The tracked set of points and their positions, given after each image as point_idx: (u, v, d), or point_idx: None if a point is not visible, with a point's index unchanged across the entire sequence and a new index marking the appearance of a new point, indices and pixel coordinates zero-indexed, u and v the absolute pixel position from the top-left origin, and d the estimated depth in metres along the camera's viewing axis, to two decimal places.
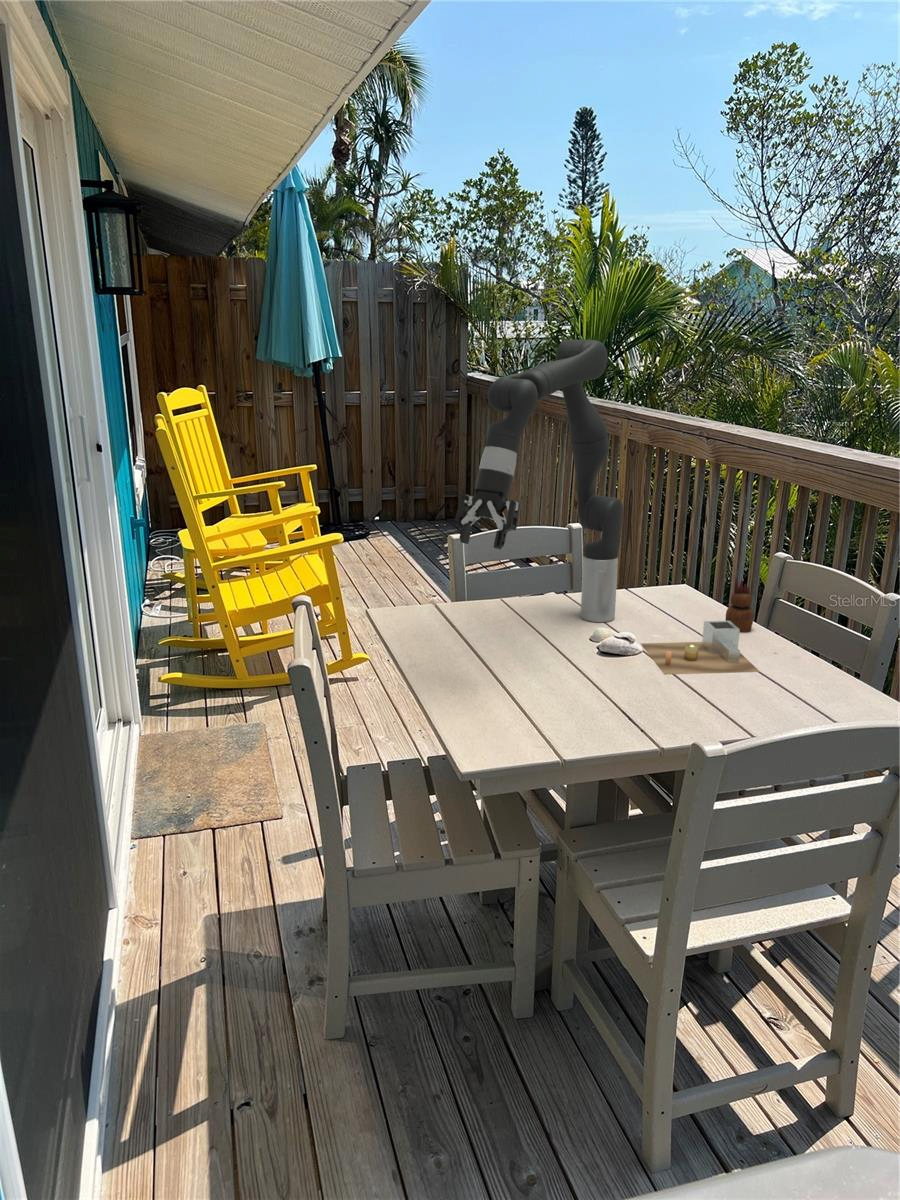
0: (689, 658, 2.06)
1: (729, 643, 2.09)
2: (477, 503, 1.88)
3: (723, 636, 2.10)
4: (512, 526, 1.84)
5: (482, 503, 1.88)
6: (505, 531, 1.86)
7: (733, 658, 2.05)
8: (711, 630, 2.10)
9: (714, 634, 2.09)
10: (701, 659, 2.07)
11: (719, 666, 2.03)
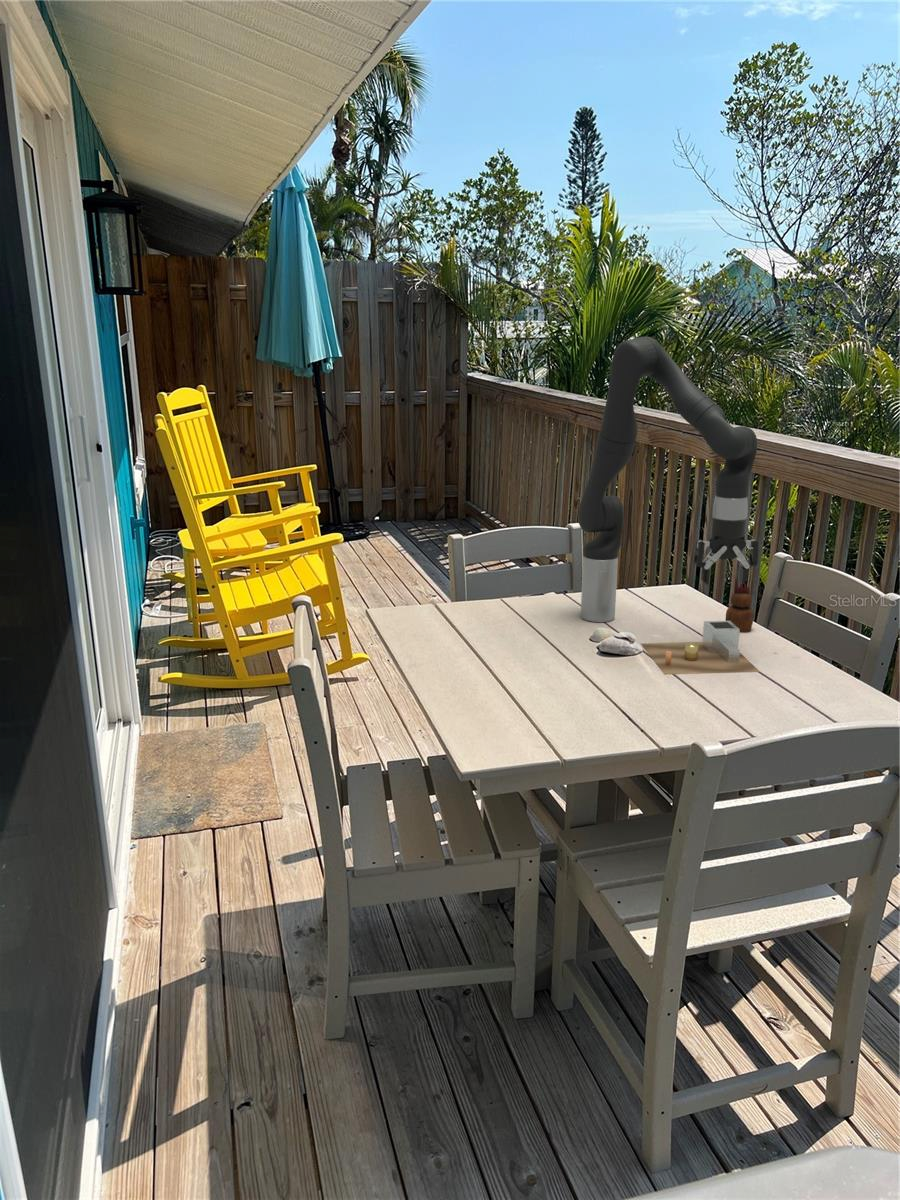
0: (689, 658, 2.06)
1: (729, 643, 2.09)
2: (722, 549, 2.04)
3: (723, 636, 2.10)
4: None
5: None
6: None
7: (733, 658, 2.05)
8: (711, 630, 2.10)
9: (714, 634, 2.09)
10: (701, 659, 2.07)
11: (719, 666, 2.03)
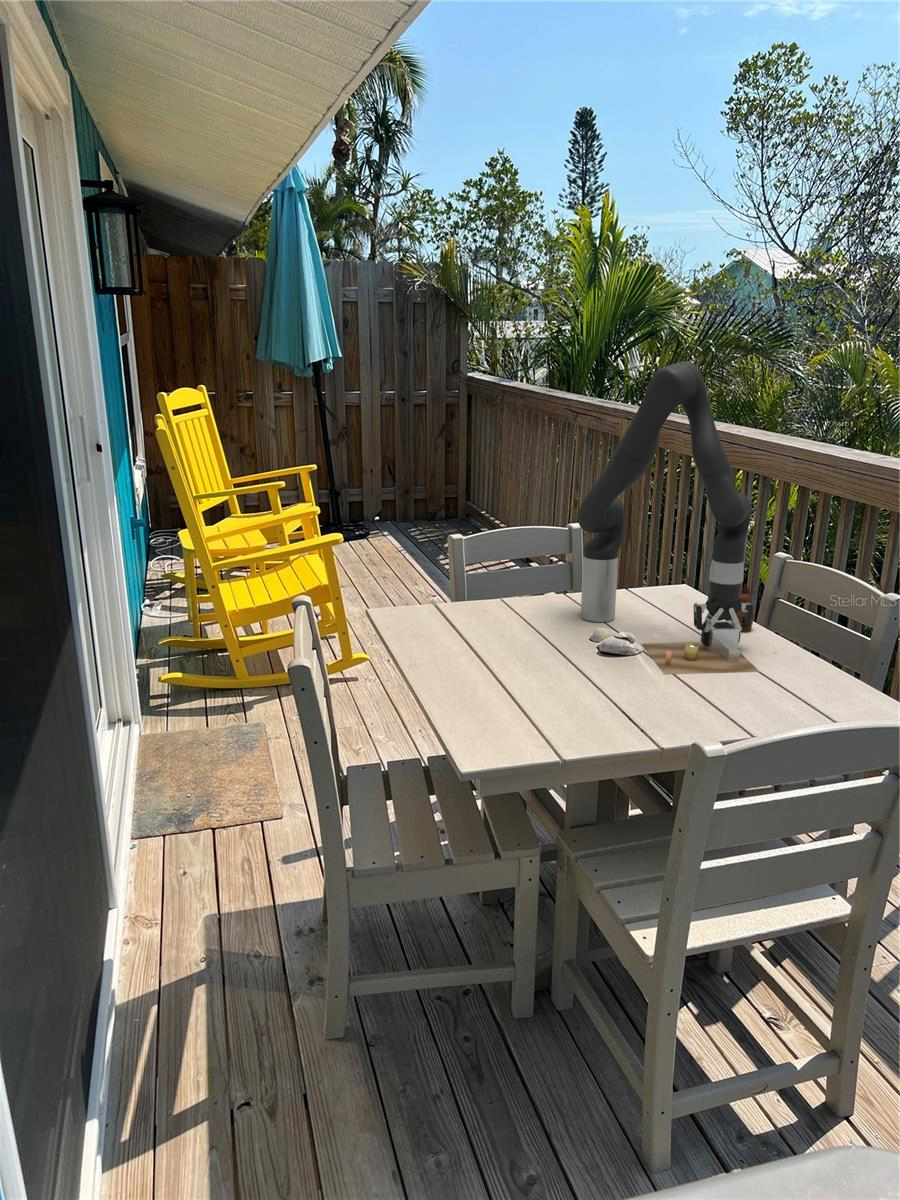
0: (689, 658, 2.06)
1: (729, 643, 2.09)
2: (719, 612, 2.09)
3: (723, 636, 2.10)
4: None
5: None
6: None
7: (733, 658, 2.05)
8: (711, 630, 2.10)
9: (714, 634, 2.09)
10: (701, 659, 2.07)
11: (719, 666, 2.03)
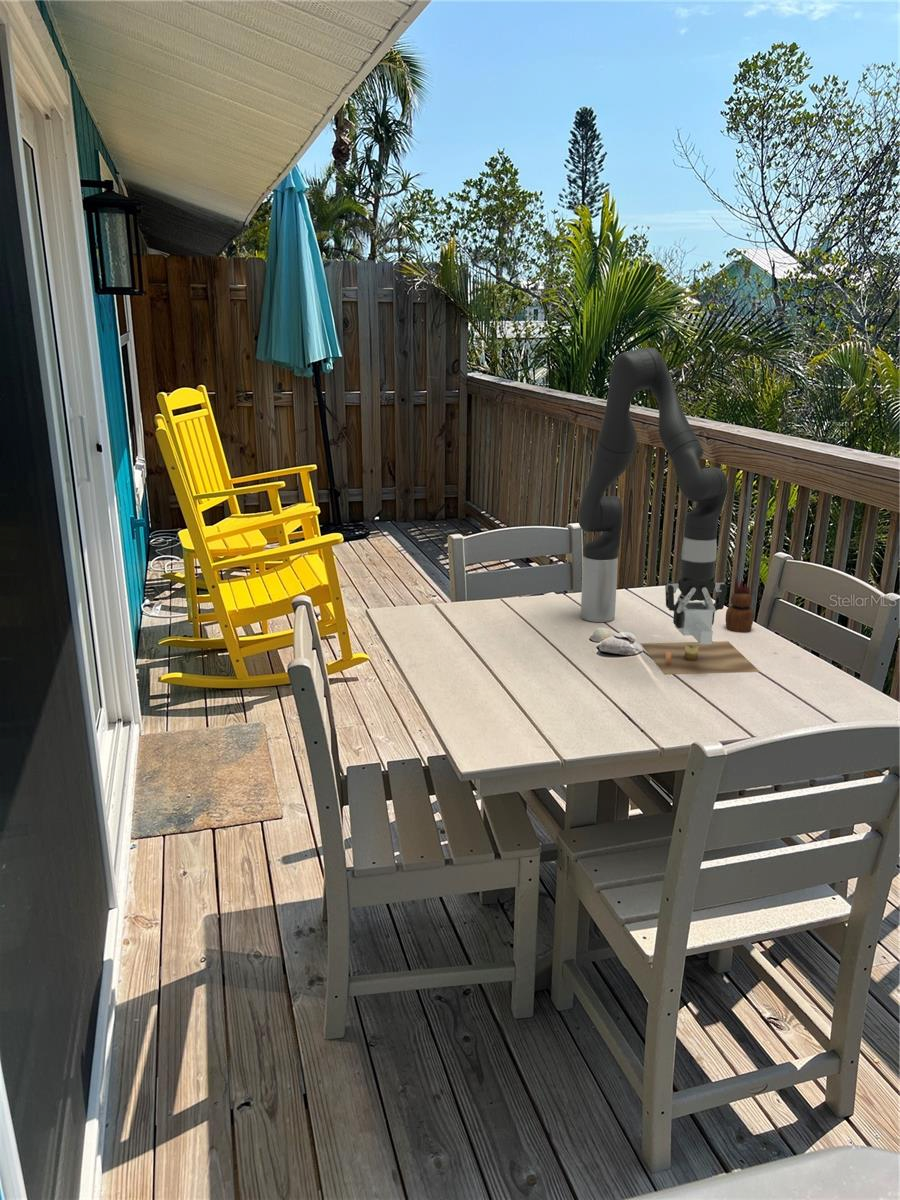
0: (689, 658, 2.06)
1: (702, 624, 2.00)
2: (691, 591, 2.01)
3: (696, 617, 2.01)
4: None
5: None
6: None
7: (705, 640, 1.96)
8: (683, 611, 2.02)
9: (686, 615, 2.01)
10: (701, 659, 2.07)
11: (719, 666, 2.03)
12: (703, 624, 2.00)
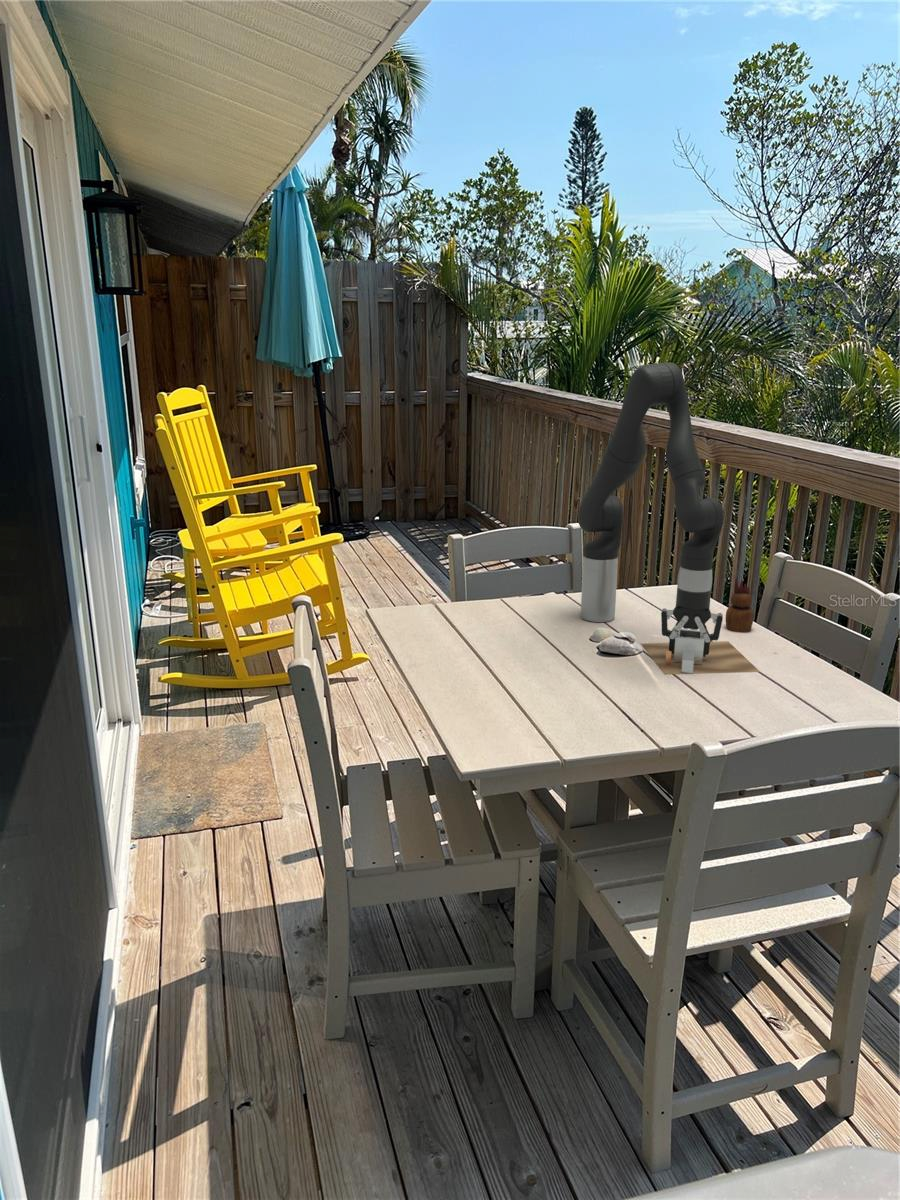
0: None
1: (690, 653, 2.02)
2: (683, 619, 2.03)
3: (686, 645, 2.04)
4: None
5: (688, 618, 2.03)
6: (710, 641, 2.05)
7: (686, 668, 1.99)
8: None
9: (677, 642, 2.04)
10: None
11: (719, 666, 2.03)
12: (692, 653, 2.02)
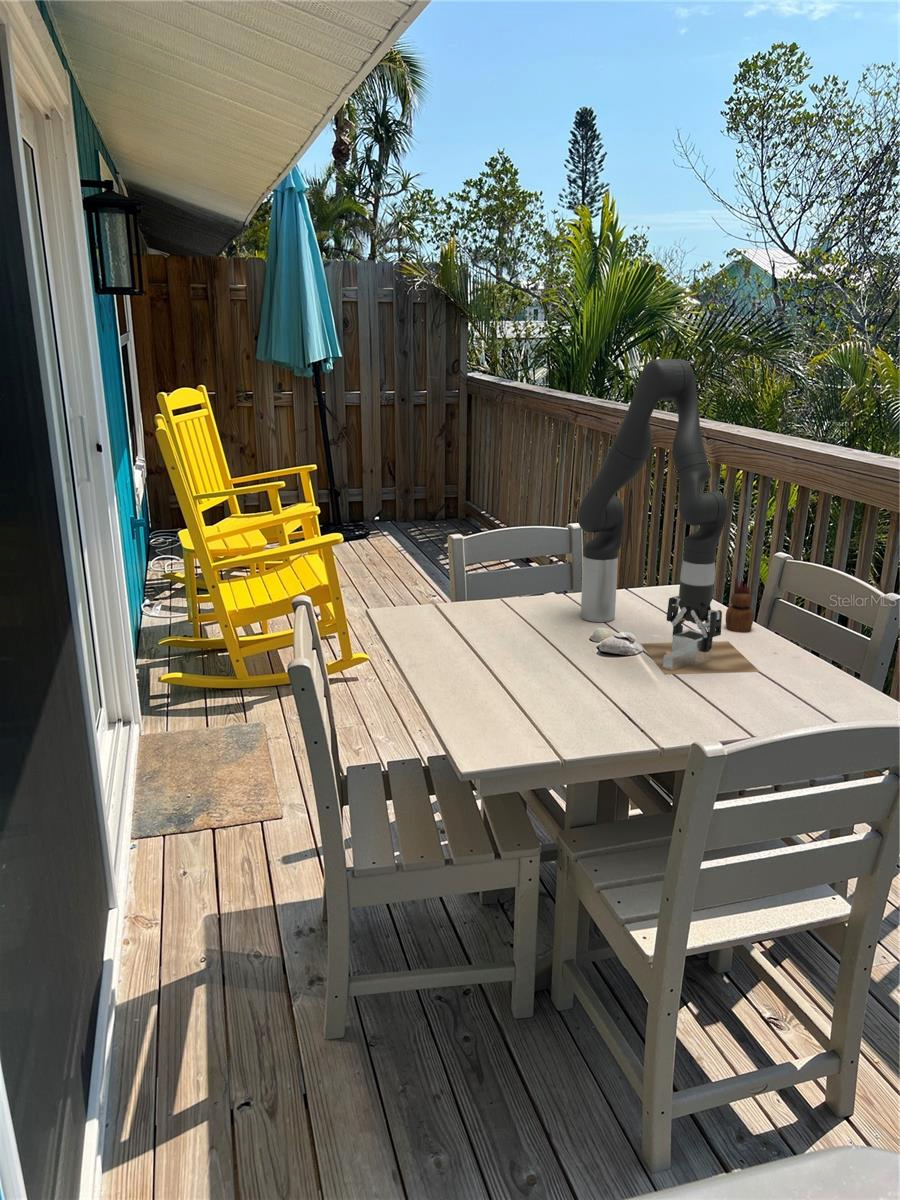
0: None
1: (681, 652, 2.03)
2: (682, 610, 2.05)
3: (682, 644, 2.04)
4: (715, 634, 2.00)
5: (687, 610, 2.04)
6: (710, 637, 2.02)
7: (667, 665, 2.01)
8: None
9: (674, 640, 2.06)
10: None
11: (719, 666, 2.03)
12: (683, 652, 2.03)
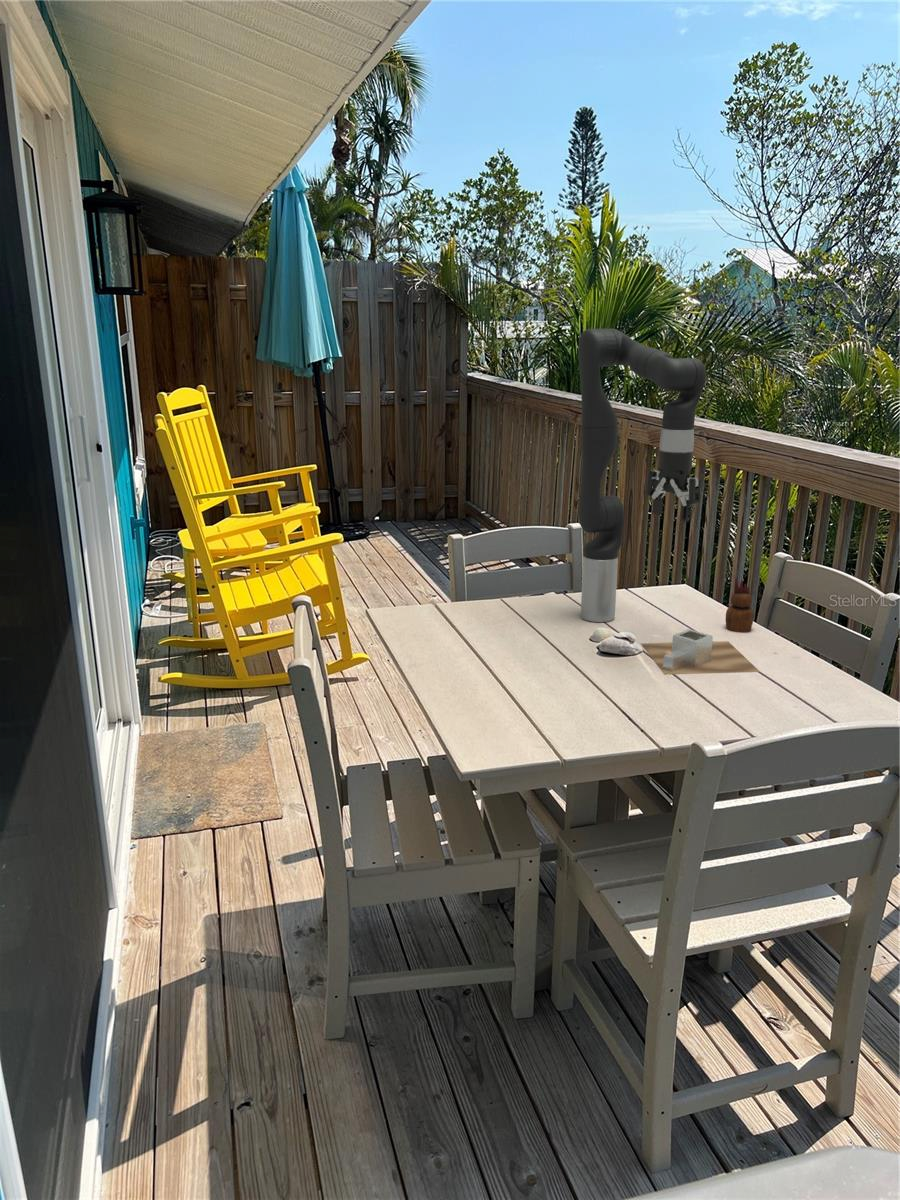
0: None
1: (682, 652, 2.03)
2: (662, 481, 2.05)
3: (682, 644, 2.04)
4: (694, 502, 2.00)
5: (666, 480, 2.05)
6: (689, 505, 2.02)
7: (667, 665, 2.01)
8: None
9: (674, 640, 2.06)
10: None
11: (719, 666, 2.03)
12: (683, 653, 2.03)
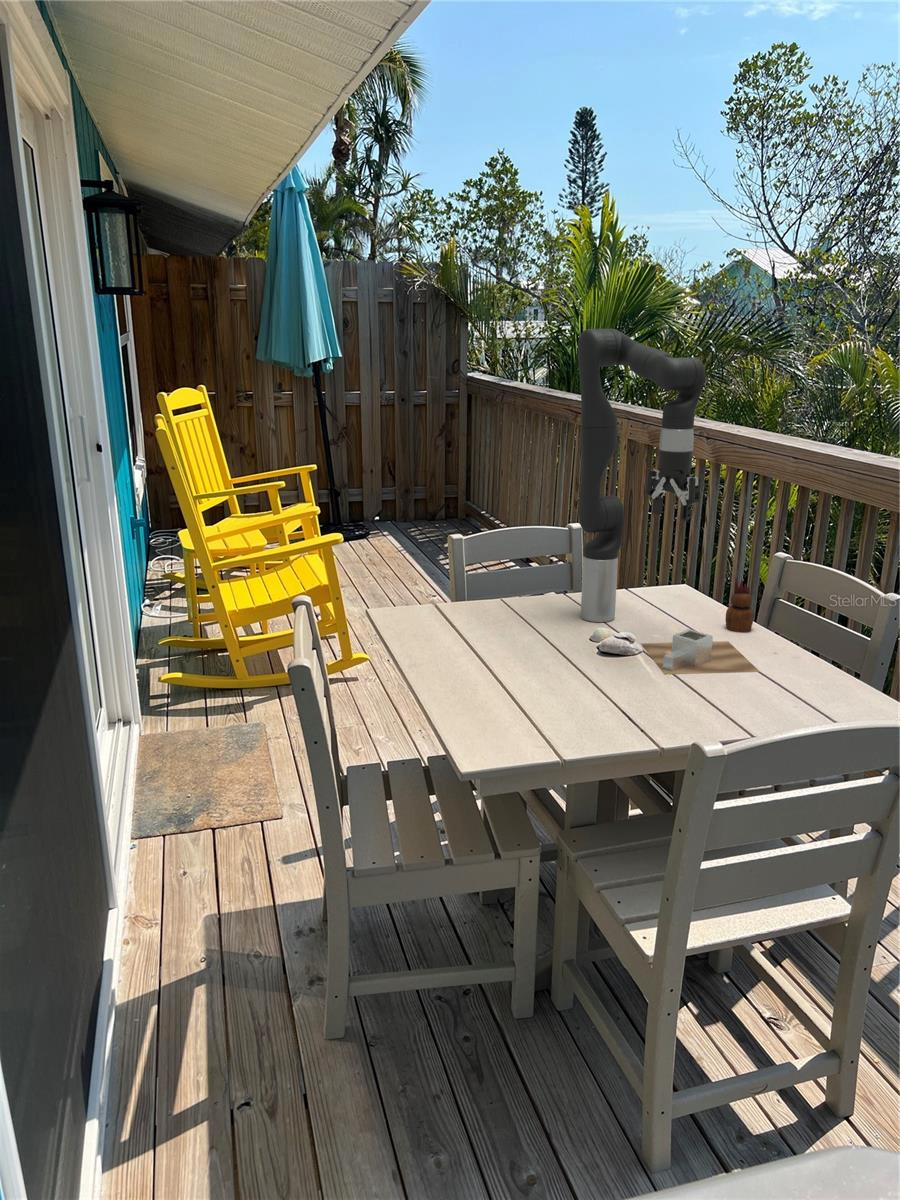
0: None
1: (682, 652, 2.03)
2: (662, 480, 2.05)
3: (682, 644, 2.04)
4: (694, 501, 2.00)
5: (666, 480, 2.05)
6: (689, 505, 2.02)
7: (667, 665, 2.01)
8: None
9: (674, 640, 2.06)
10: None
11: (719, 666, 2.03)
12: (683, 653, 2.03)
